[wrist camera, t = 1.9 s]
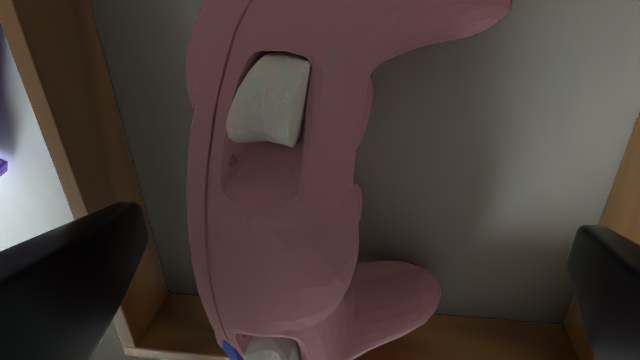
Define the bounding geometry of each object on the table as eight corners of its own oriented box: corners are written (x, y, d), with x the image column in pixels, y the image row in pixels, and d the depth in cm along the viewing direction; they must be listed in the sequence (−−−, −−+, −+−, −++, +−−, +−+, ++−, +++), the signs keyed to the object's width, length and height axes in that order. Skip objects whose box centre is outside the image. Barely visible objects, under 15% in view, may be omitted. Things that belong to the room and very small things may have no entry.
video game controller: (345, -50, 11) (86, -50, 6) (533, -40, 9) (379, -26, 4) (328, 249, 16) (179, 389, 11) (446, 302, 14) (328, 510, 9)
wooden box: (159, 301, 16) (125, 356, 14) (33, -129, 10) (-65, -148, 8) (573, 335, 14) (607, 404, 12) (769, -169, 8) (915, -209, 6)
